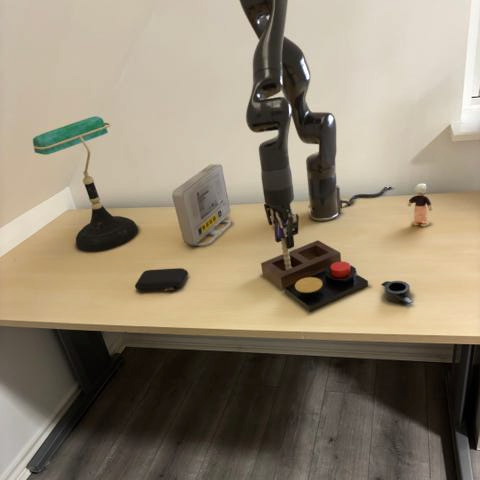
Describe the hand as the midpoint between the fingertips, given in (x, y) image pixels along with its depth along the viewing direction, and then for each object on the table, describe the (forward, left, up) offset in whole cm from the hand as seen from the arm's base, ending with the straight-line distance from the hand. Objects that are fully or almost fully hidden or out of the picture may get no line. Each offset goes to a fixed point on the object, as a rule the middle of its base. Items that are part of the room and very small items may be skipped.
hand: (284, 244), depth 134 cm
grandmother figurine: (-46, +2, -10) cm, 47 cm away
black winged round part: (-14, +28, -10) cm, 33 cm away
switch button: (-8, +13, -7) cm, 17 cm away
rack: (-4, 0, -10) cm, 11 cm away
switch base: (-3, +13, -10) cm, 17 cm away
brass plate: (+2, +13, -6) cm, 15 cm away
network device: (+5, -43, -10) cm, 45 cm away
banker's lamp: (+35, -70, -10) cm, 79 cm away
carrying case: (+31, -21, -10) cm, 39 cm away
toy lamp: (0, 0, -10) cm, 10 cm away
